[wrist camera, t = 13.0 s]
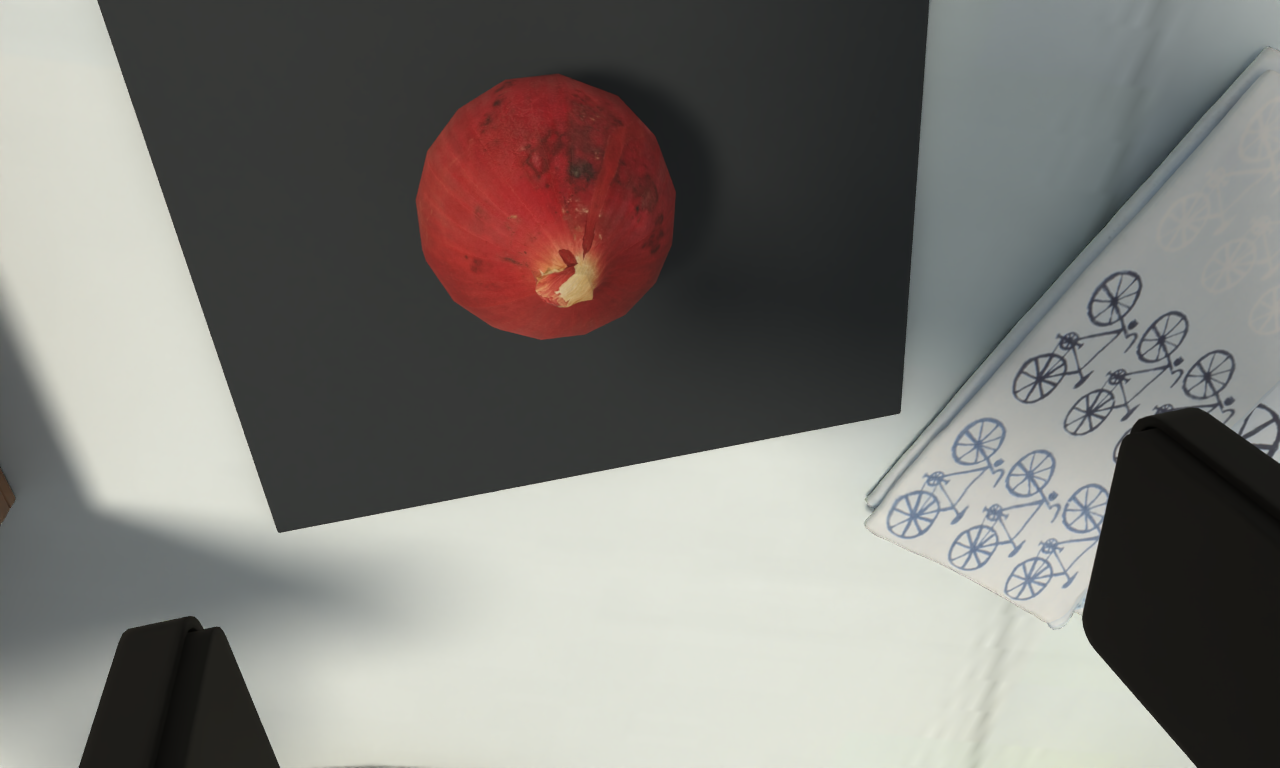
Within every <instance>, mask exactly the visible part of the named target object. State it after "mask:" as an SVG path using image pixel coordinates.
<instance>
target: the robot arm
mask: <svg viewBox="0 0 1280 768" xmlns="http://www.w3.org/2000/svg"><path fill="white" fill-rule="evenodd" d="M1082 621H1083V628H1084V631H1085V634H1086V636H1087V638H1088V640H1089V642H1090V644H1091V645H1092V647H1093V648H1094V649H1095V651H1096V652H1097V653H1098V654H1099V655H1100V656H1101V657H1102V659H1103V660H1104V661H1105V662H1106V663H1107V664H1108V665H1109V667H1110V668H1111V669H1112V670H1113V671H1114V672H1115V674H1116V675H1117V676H1118V677H1119V678H1120V679H1121V680H1122V682H1123V683H1124V684H1125V685H1126V686H1127V687H1128V688H1129V690H1130V691H1131V692H1132V693H1133V694H1134V695H1135V697H1136V698H1137V699H1138V700H1139V701H1140V702H1141V703H1142V705H1143V706H1144V707H1145V708H1146V709H1147V710H1148V711H1149V713H1150V714H1151V715H1152V716H1153V717H1154V718H1155V720H1156V721H1157V722H1158V723H1159V724H1160V725H1161V726H1162V728H1163V729H1164V730H1165V731H1166V732H1167V733H1168V734H1169V736H1170V737H1171V738H1172V739H1173V740H1174V741H1175V743H1176V744H1177V745H1178V746H1179V747H1180V748H1181V749H1182V751H1183V752H1184V753H1185V754H1186V755H1187V756H1188V757H1189V759H1190V760H1191V761H1192V762H1193V763H1194V764H1195V766H1196V767H1197V768H1280V463H1278V462H1277V461H1275V460H1274V459H1273V458H1271V457H1270V456H1268V455H1267V454H1266V453H1264V452H1263V451H1261V450H1260V449H1259V448H1257V447H1256V446H1254V445H1253V444H1251V443H1250V442H1249V441H1247V440H1246V439H1244V438H1243V437H1242V436H1240V435H1239V434H1237V433H1236V432H1234V431H1233V430H1232V429H1230V428H1229V427H1227V426H1226V425H1225V424H1223V423H1222V422H1220V421H1219V420H1218V419H1216V418H1215V417H1213V416H1212V415H1210V414H1209V413H1207V412H1205V411H1203V410H1201V409H1199V408H1192V407H1189V408H1184V409H1179V410H1174V411H1170V412H1165V413H1160V414H1155V415H1150V416H1146V417H1143V418H1140V419H1138V421H1137V422H1136V423H1135V424H1134V425H1133V427H1132V429H1131V432H1130V434H1128V435H1126V436H1125V437H1124V438H1123V440H1122V442H1121V445H1120V448H1119V453H1118V457H1117V462H1116V466H1115V470H1114V475H1113V479H1112V484H1111V488H1110V493H1109V497H1108V502H1107V506H1106V511H1105V515H1104V520H1103V524H1102V528H1101V533H1100V537H1099V542H1098V546H1097V551H1096V555H1095V560H1094V564H1093V569H1092V573H1091V578H1090V582H1089V586H1088V591H1087V595H1086V600H1085V604H1084V609H1083V615H1082ZM79 768H280V766H279V764H278V762H277V759H276V757H275V754H274V752H273V749H272V747H271V745H270V742H269V740H268V737H267V735H266V732H265V730H264V728H263V725H262V723H261V720H260V718H259V715H258V713H257V711H256V708H255V706H254V703H253V701H252V698H251V696H250V694H249V691H248V689H247V686H246V684H245V681H244V679H243V677H242V674H241V672H240V669H239V667H238V664H237V662H236V659H235V657H234V655H233V652H232V650H231V647H230V645H229V642H228V640H227V638H226V636H225V634H224V632H223V630H222V629H221V628H220V627H212V628H208V629H203V627H202V625H201V623H200V622H199V621H198V620H197V619H196V618H195V617H194V616H188V617H183V618H178V619H173V620H169V621H164V622H159V623H154V624H149V625H145V626H140V627H135V628H130V629H127V630H126V631H125V632H124V633H123V634H122V636H121V638H120V641H119V643H118V646H117V649H116V652H115V655H114V659H113V662H112V665H111V668H110V671H109V674H108V677H107V680H106V684H105V687H104V690H103V693H102V696H101V699H100V702H99V706H98V709H97V712H96V715H95V718H94V721H93V724H92V727H91V731H90V734H89V737H88V740H87V743H86V746H85V749H84V753H83V756H82V759H81V762H80V765H79Z"/></svg>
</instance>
